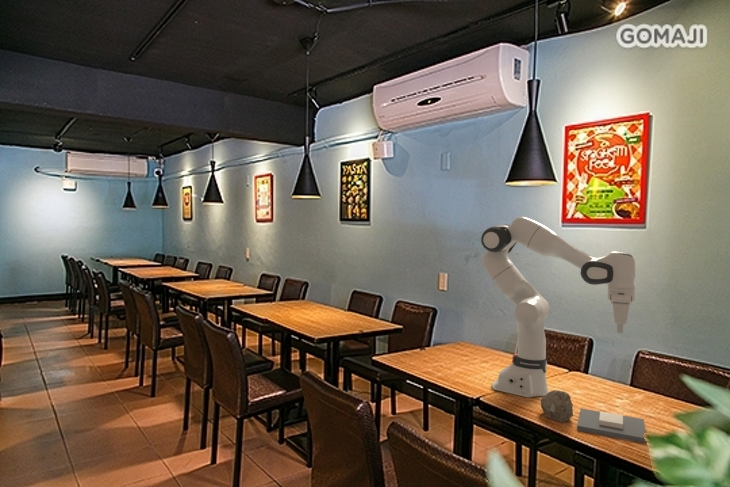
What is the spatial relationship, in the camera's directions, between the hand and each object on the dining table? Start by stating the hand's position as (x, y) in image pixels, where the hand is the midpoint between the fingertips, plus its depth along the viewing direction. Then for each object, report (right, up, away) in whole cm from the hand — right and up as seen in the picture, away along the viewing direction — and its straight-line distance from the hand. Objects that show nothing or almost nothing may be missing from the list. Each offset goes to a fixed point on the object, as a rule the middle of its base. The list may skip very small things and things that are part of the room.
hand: (619, 332), depth 178 cm
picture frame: (-9, -27, -12) cm, 31 cm away
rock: (-27, -29, -8) cm, 40 cm away
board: (-11, -29, -15) cm, 35 cm away
